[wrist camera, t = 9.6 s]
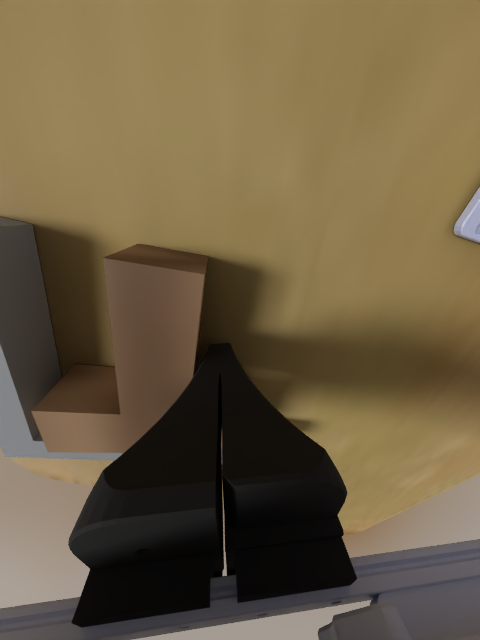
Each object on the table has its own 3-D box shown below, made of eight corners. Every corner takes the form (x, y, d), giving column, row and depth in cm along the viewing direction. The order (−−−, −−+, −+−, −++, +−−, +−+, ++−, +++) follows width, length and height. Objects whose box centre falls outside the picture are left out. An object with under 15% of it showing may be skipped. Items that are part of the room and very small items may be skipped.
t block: (281, 269, 10) (304, 290, 7) (241, 409, 14) (246, 454, 12) (44, 227, 8) (-41, 234, 5) (83, 401, 12) (47, 452, 10)
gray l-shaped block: (349, 296, 11) (382, 318, 9) (278, 431, 16) (288, 466, 14) (-14, 213, 8) (-108, 214, 5) (42, 414, 13) (5, 456, 10)
